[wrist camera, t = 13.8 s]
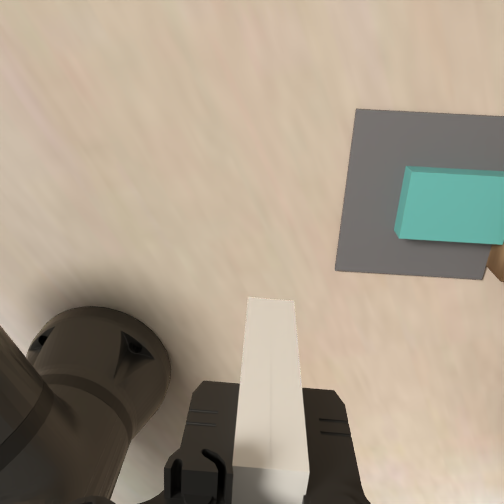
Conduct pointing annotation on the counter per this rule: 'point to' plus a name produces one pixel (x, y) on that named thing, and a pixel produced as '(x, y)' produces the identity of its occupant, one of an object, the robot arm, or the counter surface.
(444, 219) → the rectangular block
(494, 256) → the brown wooden slab
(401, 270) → the mat
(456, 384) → the counter surface
